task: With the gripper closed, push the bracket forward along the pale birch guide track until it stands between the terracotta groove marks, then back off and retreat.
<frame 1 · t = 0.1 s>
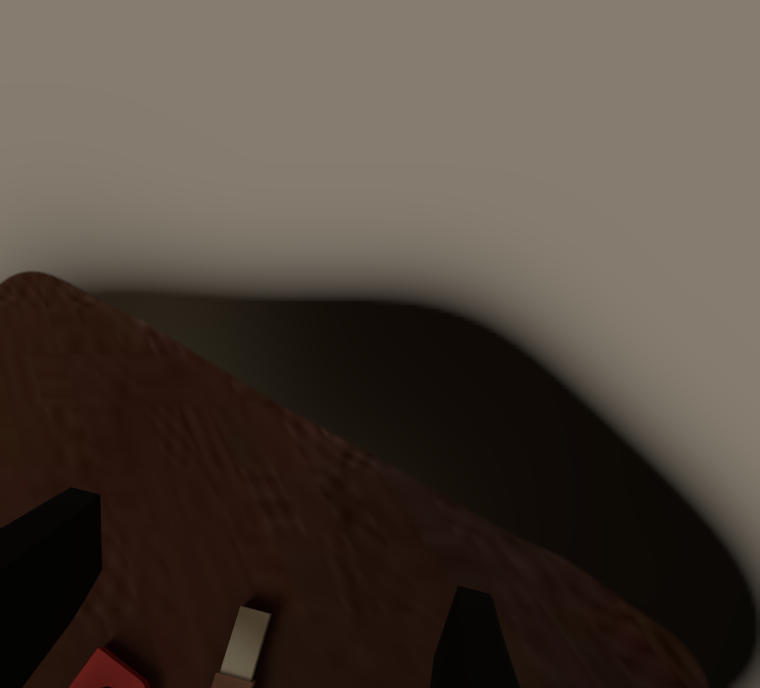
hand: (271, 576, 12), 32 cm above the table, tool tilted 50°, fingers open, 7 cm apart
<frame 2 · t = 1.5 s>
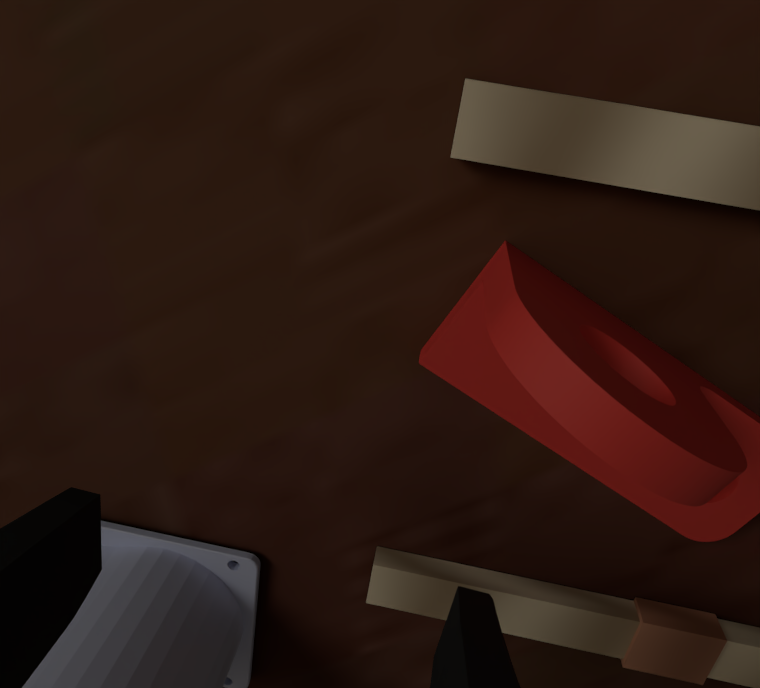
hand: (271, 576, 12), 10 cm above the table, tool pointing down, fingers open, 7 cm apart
bracket: (608, 393, 20), on the table
guide track: (660, 428, 20), on the table
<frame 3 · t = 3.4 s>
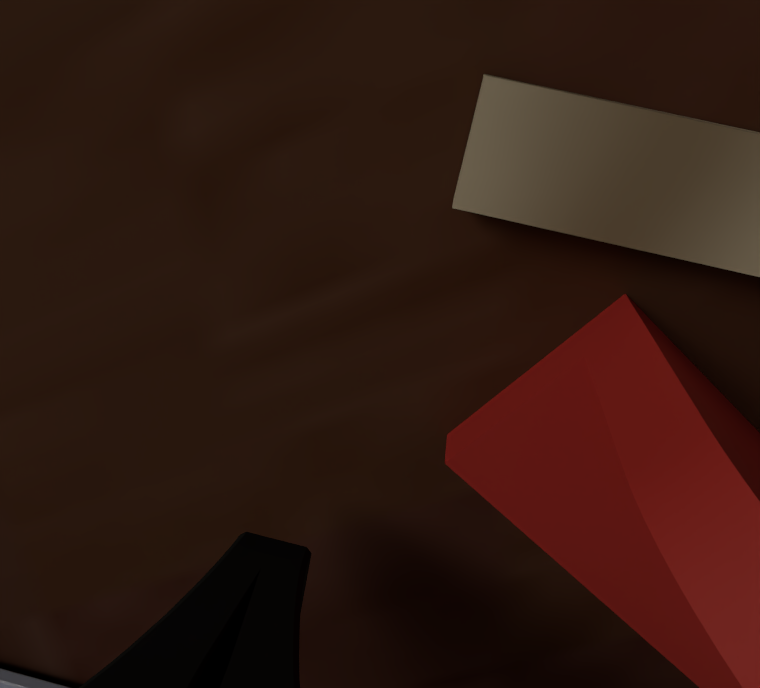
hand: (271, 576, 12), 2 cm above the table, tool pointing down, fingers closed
bracket: (714, 541, 13), on the table
guide track: (746, 610, 14), on the table
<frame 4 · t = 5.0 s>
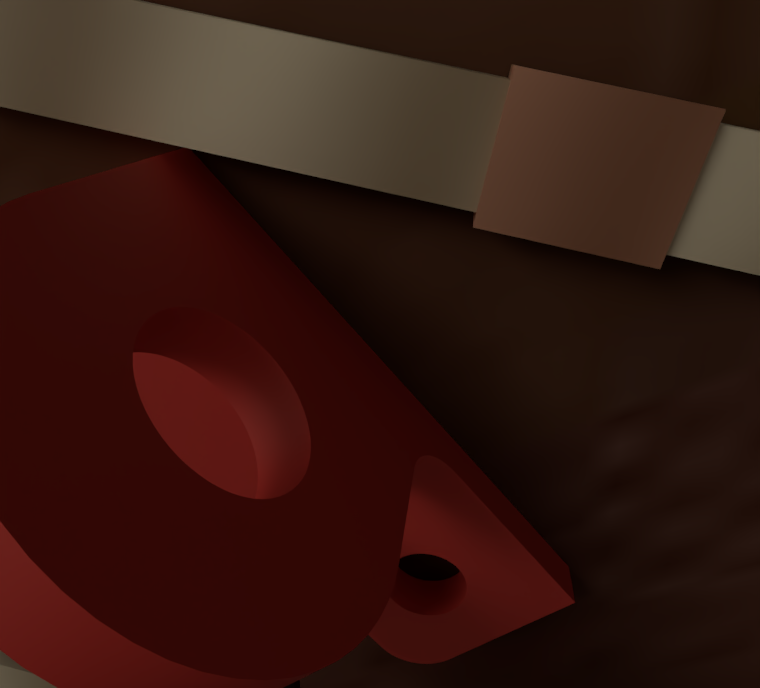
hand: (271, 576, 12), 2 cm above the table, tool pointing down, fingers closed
bracket: (324, 426, 14), on the table
guide track: (330, 504, 14), on the table
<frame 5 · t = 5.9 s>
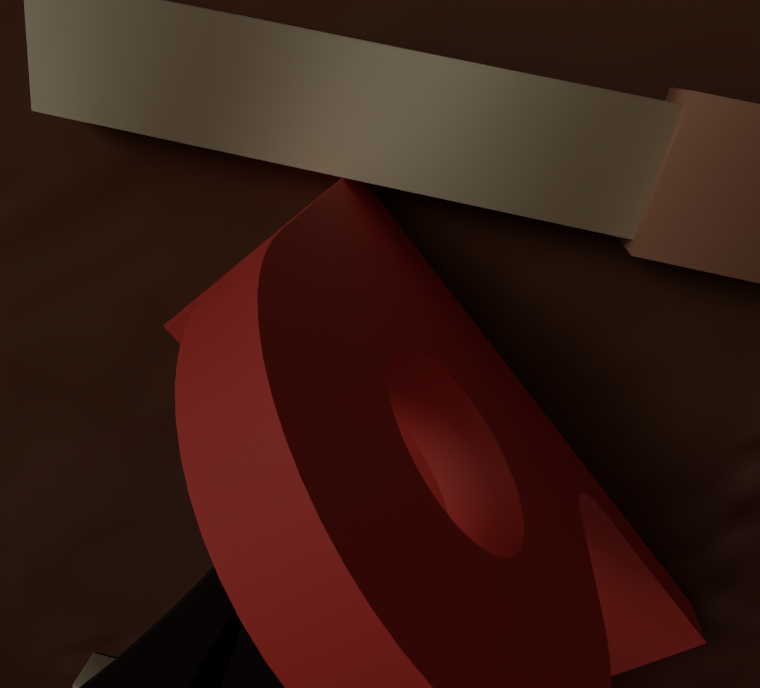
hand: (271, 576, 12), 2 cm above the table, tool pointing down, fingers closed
bracket: (451, 453, 13), on the table
guide track: (438, 530, 14), on the table
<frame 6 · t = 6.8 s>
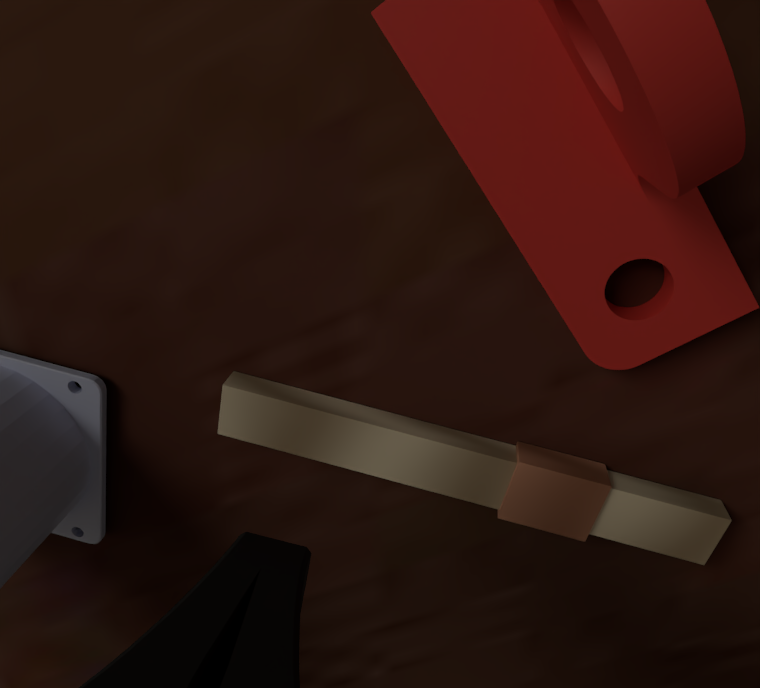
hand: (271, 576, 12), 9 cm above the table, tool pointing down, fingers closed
bracket: (568, 159, 17), on the table
guide track: (544, 222, 17), on the table
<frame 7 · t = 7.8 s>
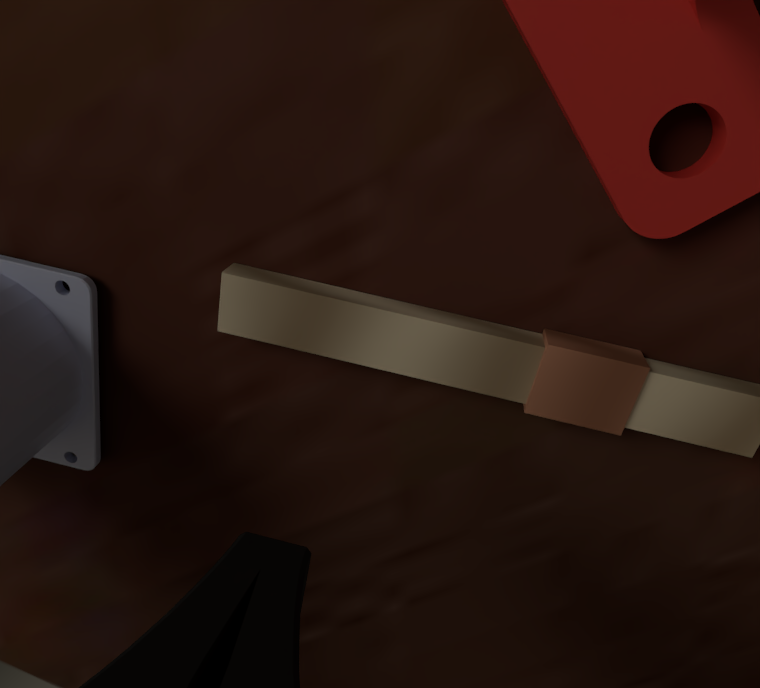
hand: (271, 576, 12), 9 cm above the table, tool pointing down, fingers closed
guide track: (571, 63, 16), on the table
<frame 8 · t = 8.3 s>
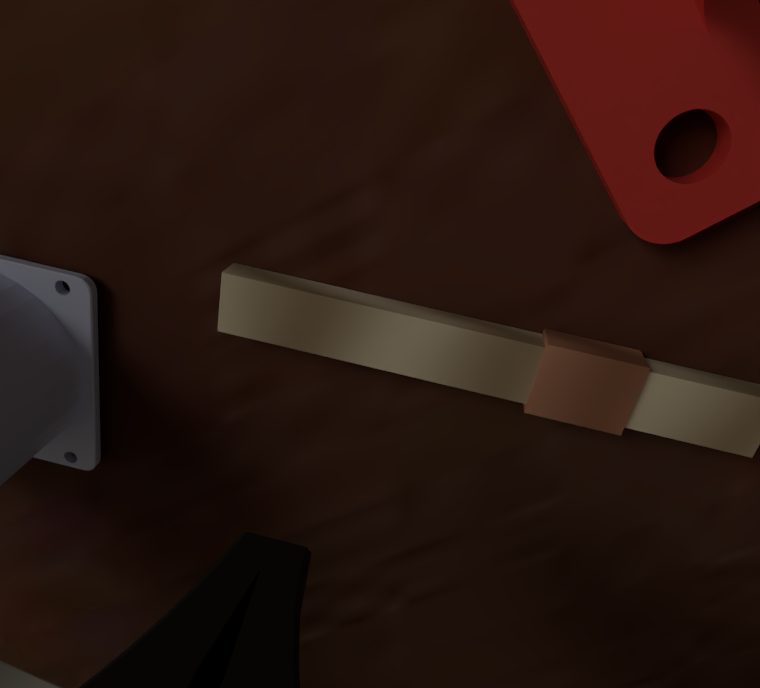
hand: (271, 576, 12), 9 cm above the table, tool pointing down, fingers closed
bracket: (618, 1, 15), on the table
guide track: (571, 63, 16), on the table
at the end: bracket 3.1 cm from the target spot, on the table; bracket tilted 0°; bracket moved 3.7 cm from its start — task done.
